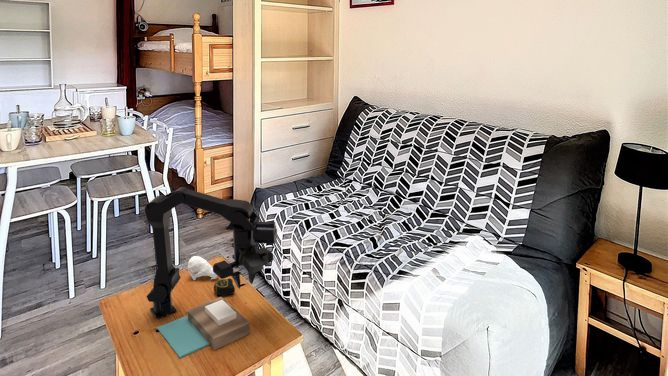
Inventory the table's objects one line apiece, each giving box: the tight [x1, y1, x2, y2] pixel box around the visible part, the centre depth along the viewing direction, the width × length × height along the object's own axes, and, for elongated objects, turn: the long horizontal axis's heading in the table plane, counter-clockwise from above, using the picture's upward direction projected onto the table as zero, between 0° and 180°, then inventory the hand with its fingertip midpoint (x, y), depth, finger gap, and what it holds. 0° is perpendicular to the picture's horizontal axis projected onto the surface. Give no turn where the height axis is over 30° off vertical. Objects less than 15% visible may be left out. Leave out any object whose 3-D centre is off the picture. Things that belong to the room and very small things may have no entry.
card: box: [205, 300, 237, 325], centre depth 137 cm, size 9×6×2 cm, turn 42°
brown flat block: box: [186, 296, 251, 351], centre depth 137 cm, size 18×12×4 cm, turn 42°
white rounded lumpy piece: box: [186, 255, 219, 281], centre depth 164 cm, size 6×8×12 cm
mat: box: [156, 315, 210, 359], centre depth 133 cm, size 17×10×1 cm, turn 42°
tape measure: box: [213, 277, 236, 296], centre depth 156 cm, size 7×7×4 cm
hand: (245, 285), depth 141 cm, fingers open, 4 cm apart
